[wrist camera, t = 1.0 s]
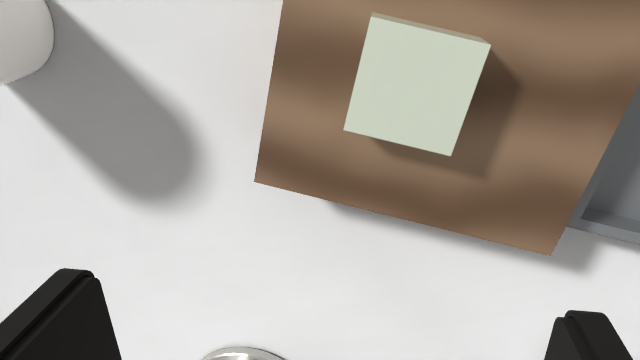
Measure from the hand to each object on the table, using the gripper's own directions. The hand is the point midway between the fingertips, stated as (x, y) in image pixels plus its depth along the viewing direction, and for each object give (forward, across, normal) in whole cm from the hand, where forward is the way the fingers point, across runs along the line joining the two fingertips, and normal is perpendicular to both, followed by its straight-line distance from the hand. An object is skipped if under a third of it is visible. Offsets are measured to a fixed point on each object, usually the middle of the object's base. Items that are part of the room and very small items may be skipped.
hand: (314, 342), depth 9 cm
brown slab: (+26, -4, 0) cm, 26 cm away
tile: (+20, -3, -1) cm, 20 cm away
